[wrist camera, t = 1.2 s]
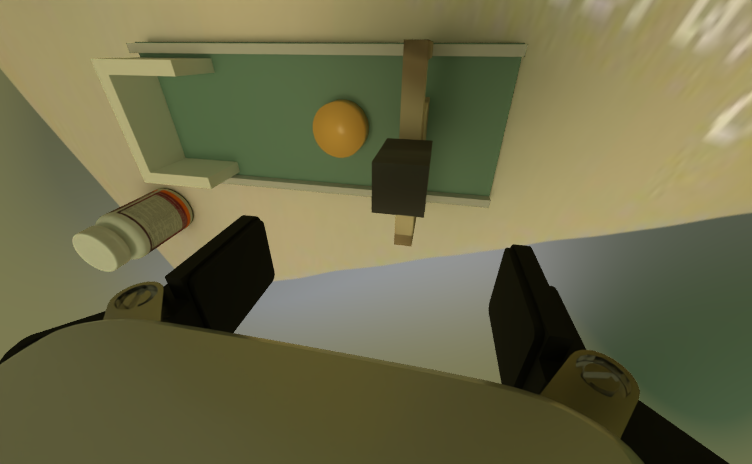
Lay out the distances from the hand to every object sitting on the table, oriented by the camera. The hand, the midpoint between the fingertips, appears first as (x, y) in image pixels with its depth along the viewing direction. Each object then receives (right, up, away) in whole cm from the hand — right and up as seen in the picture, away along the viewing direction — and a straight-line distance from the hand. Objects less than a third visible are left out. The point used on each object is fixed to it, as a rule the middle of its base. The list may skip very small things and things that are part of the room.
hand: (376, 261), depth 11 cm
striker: (+4, +10, +16) cm, 19 cm away
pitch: (-6, +13, +19) cm, 24 cm away
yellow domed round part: (-3, +12, +18) cm, 21 cm away
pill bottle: (-28, +5, +30) cm, 41 cm away
